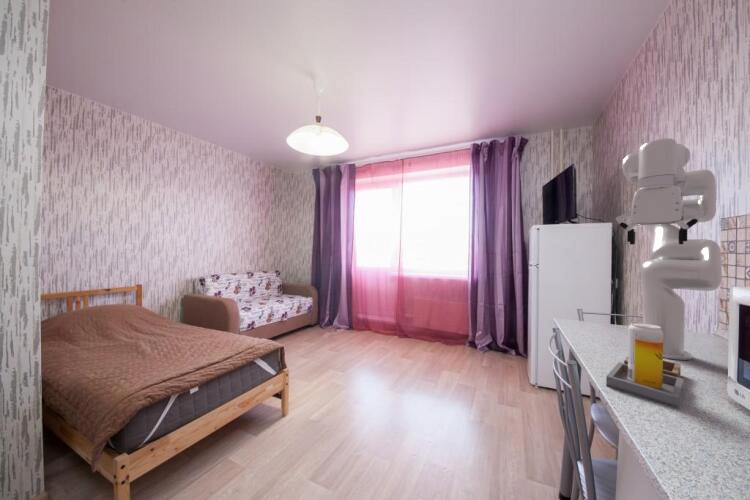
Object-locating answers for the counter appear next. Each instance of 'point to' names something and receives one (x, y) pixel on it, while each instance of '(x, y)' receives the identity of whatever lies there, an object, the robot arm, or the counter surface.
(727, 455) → the counter surface
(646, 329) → the beer can
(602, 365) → the counter surface
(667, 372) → the collar
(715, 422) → the counter surface
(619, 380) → the tray
